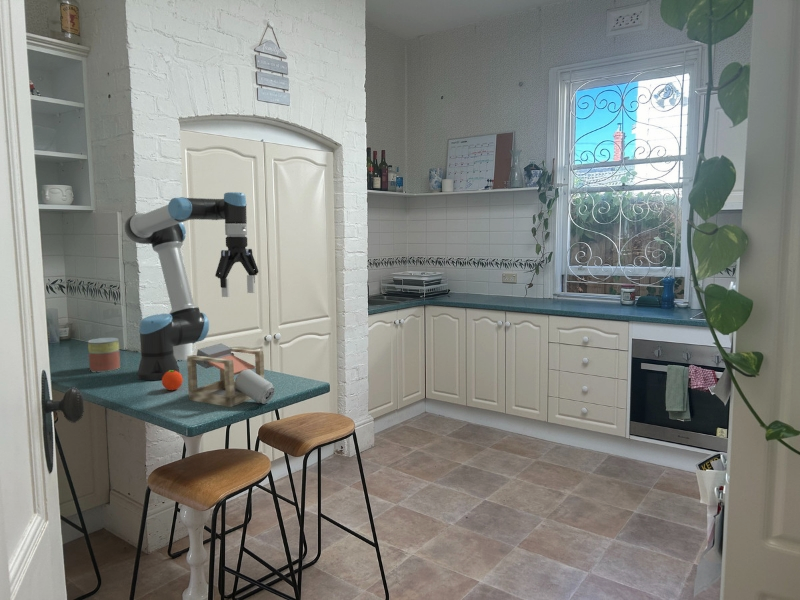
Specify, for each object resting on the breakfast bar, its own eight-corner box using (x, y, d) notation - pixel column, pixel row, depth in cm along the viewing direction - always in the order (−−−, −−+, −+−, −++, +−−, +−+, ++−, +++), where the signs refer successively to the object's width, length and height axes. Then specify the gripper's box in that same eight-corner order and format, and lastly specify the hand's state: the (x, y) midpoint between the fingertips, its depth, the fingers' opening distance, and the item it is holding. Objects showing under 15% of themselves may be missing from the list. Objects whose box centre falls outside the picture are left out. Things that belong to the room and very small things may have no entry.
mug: (177, 362, 252) (176, 340, 251) (166, 359, 258) (165, 338, 257) (202, 357, 261) (201, 336, 260) (192, 354, 267) (191, 334, 266)
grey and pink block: (192, 363, 197) (195, 349, 196) (220, 355, 209) (223, 342, 207) (228, 382, 191) (231, 368, 190) (255, 373, 203) (258, 360, 201)
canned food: (126, 367, 242) (124, 338, 241) (101, 373, 232) (99, 343, 231) (108, 364, 248) (106, 336, 246) (83, 370, 238) (81, 341, 236)
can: (238, 390, 198) (265, 408, 194) (230, 383, 191) (258, 402, 187) (252, 371, 200) (279, 389, 196) (244, 364, 193) (272, 382, 189)
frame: (189, 399, 197) (186, 355, 195) (224, 387, 212) (223, 346, 210) (230, 407, 189) (228, 361, 187) (264, 393, 204) (263, 351, 203)
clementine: (159, 388, 211) (158, 369, 210) (179, 385, 215) (178, 366, 214) (165, 393, 205) (164, 373, 204) (185, 390, 209) (184, 370, 208)
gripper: (219, 236, 199) (222, 299, 202) (266, 235, 222) (268, 291, 224) (203, 236, 203) (205, 298, 205) (251, 235, 225) (253, 290, 228)
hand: (238, 294), depth 215 cm, fingers open, 13 cm apart
